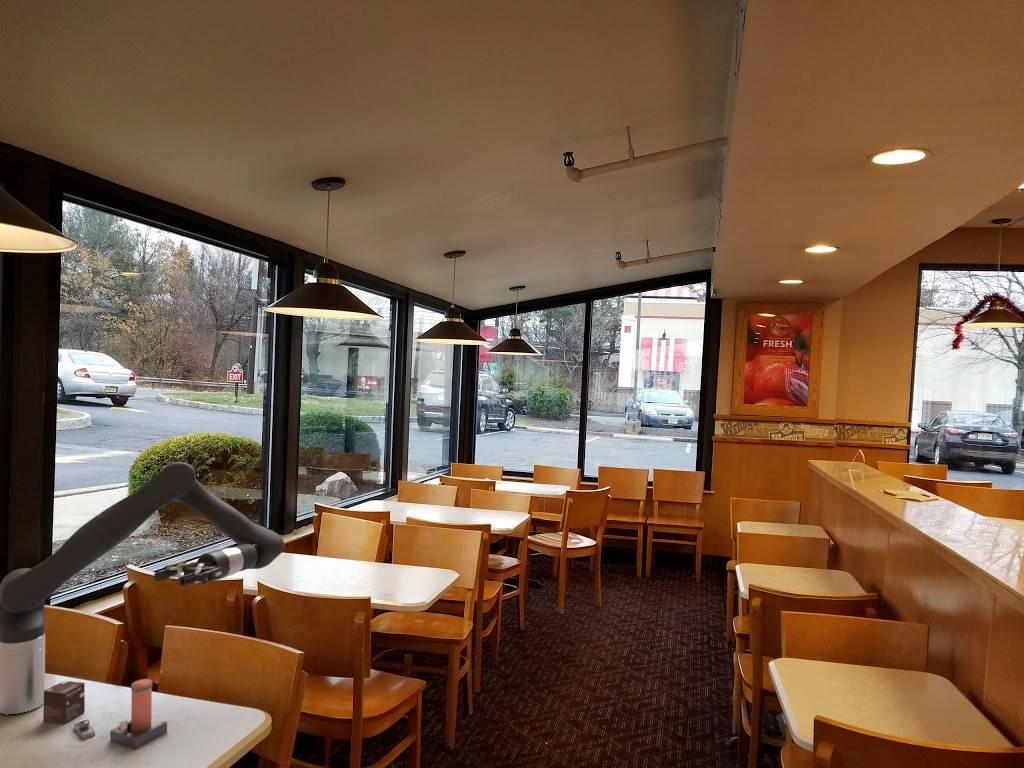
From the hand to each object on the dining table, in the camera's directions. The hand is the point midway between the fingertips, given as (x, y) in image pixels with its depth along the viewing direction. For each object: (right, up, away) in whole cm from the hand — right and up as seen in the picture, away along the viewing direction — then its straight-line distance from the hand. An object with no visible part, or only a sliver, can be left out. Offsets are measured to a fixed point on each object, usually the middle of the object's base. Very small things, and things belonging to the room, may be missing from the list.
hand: (167, 579), depth 166 cm
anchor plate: (-14, -32, -10) cm, 36 cm away
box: (-23, -32, -3) cm, 40 cm away
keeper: (0, -32, -12) cm, 34 cm away
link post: (0, -32, -11) cm, 34 cm away
